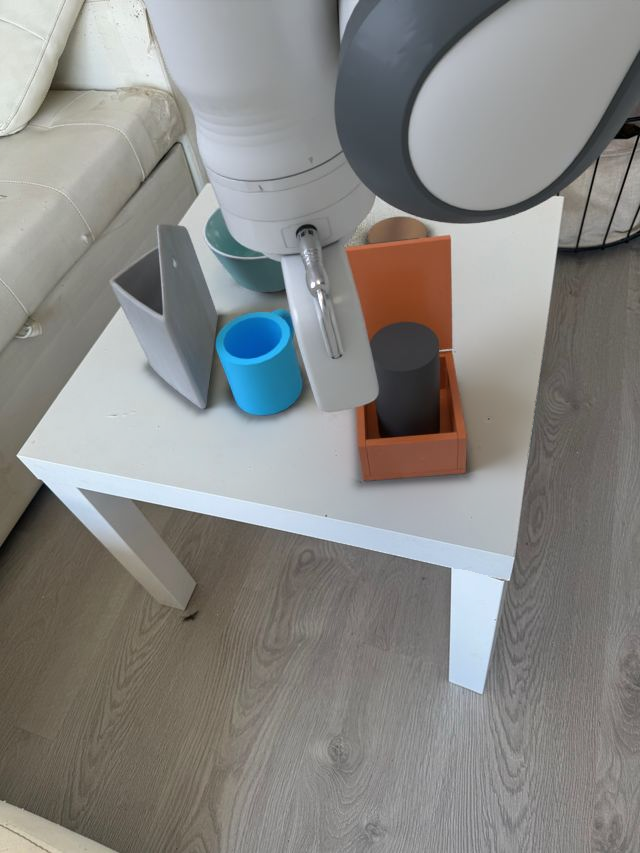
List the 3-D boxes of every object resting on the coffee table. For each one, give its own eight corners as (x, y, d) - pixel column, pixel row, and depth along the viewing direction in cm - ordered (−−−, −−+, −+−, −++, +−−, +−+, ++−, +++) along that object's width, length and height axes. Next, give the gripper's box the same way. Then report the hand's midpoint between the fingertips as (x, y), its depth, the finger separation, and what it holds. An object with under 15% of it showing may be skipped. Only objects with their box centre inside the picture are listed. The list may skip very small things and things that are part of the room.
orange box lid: (451, 238, 60) (445, 219, 63) (339, 251, 61) (340, 231, 65) (452, 349, 68) (447, 326, 71) (353, 358, 69) (353, 336, 72)
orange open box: (465, 473, 66) (466, 437, 61) (363, 481, 67) (357, 446, 63) (451, 387, 73) (452, 350, 69) (359, 395, 74) (354, 359, 70)
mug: (284, 422, 74) (270, 371, 67) (221, 406, 76) (201, 356, 70) (326, 348, 80) (316, 295, 74) (266, 336, 83) (252, 285, 77)
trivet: (423, 219, 94) (423, 213, 93) (429, 253, 88) (429, 247, 88) (367, 226, 94) (366, 220, 94) (369, 260, 89) (369, 254, 89)
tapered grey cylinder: (436, 401, 71) (435, 318, 62) (443, 449, 67) (443, 367, 58) (377, 407, 72) (367, 325, 63) (380, 454, 68) (370, 374, 59)
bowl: (277, 224, 98) (265, 173, 92) (355, 261, 90) (348, 208, 83) (196, 281, 92) (178, 231, 86) (272, 326, 84) (258, 274, 78)
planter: (160, 322, 88) (102, 191, 73) (218, 315, 87) (171, 180, 72) (140, 416, 77) (68, 285, 63) (206, 409, 77) (149, 275, 62)
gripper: (389, 286, 30) (414, 452, 41) (321, 79, 43) (354, 249, 54) (256, 321, 31) (316, 476, 42) (227, 106, 43) (279, 269, 54)
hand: (337, 347), depth 48 cm, fingers open, 8 cm apart
